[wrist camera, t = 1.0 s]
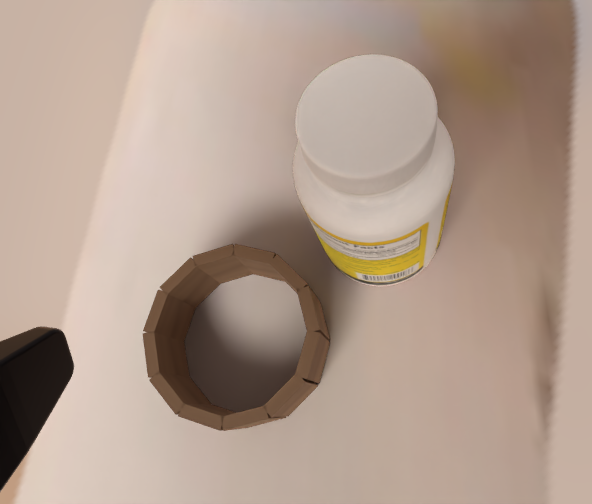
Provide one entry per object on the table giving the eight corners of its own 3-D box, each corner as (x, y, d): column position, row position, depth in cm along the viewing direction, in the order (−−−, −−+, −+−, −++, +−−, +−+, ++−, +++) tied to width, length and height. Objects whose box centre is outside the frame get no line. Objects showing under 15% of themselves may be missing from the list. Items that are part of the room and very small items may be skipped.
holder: (243, 462, 21) (219, 470, 18) (147, 341, 23) (112, 332, 20) (361, 341, 21) (356, 330, 18) (255, 236, 24) (235, 213, 21)
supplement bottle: (372, 160, 24) (356, 3, 15) (465, 224, 22) (513, 90, 13) (298, 240, 23) (234, 131, 14) (387, 314, 21) (379, 242, 12)
